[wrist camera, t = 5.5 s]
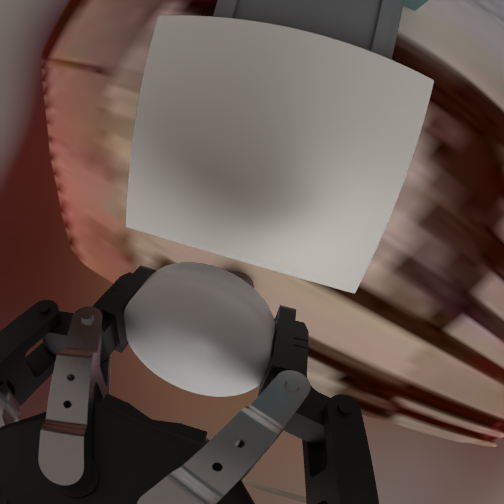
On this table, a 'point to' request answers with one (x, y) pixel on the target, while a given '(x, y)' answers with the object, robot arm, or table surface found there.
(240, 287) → the disc
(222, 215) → the housing
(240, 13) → the grey drawer
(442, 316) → the table surface
